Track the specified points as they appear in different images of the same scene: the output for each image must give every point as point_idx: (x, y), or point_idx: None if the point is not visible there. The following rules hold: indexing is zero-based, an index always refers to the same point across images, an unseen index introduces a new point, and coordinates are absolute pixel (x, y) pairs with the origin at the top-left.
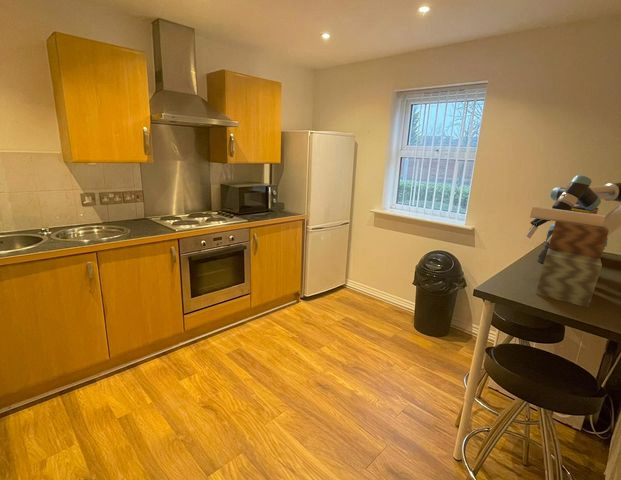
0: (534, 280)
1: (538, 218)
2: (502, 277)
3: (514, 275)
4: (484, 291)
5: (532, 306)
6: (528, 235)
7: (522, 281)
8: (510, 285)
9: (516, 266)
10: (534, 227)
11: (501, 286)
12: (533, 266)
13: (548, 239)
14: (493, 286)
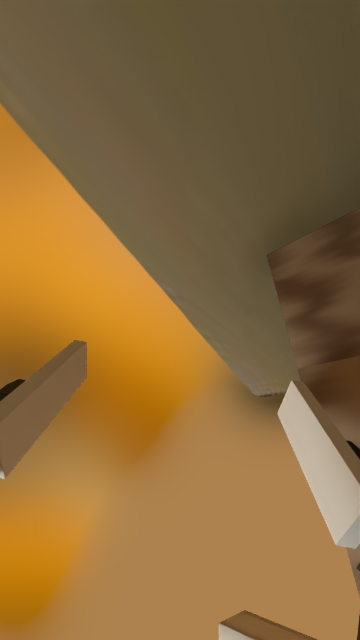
0: (267, 289)
1: (289, 629)
2: (220, 343)
3: (214, 310)
4: (263, 394)
5: None
6: (81, 374)
7: (257, 324)
8: (263, 358)
9: (117, 224)
10: (17, 446)
11: (260, 371)
12: (88, 81)
13: (287, 427)
14: (254, 378)
